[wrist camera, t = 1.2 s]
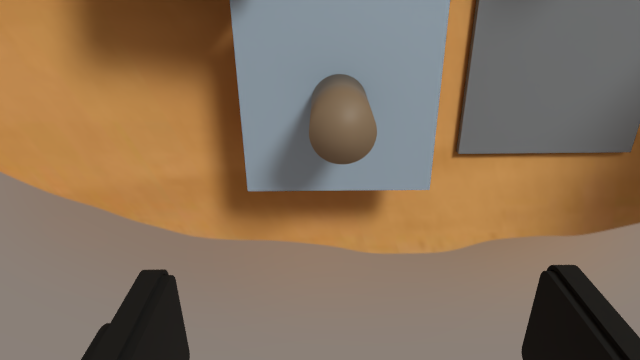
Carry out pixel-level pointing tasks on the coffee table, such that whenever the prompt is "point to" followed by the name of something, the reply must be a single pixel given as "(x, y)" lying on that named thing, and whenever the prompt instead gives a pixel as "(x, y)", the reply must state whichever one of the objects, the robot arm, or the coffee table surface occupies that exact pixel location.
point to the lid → (339, 92)
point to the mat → (552, 77)
